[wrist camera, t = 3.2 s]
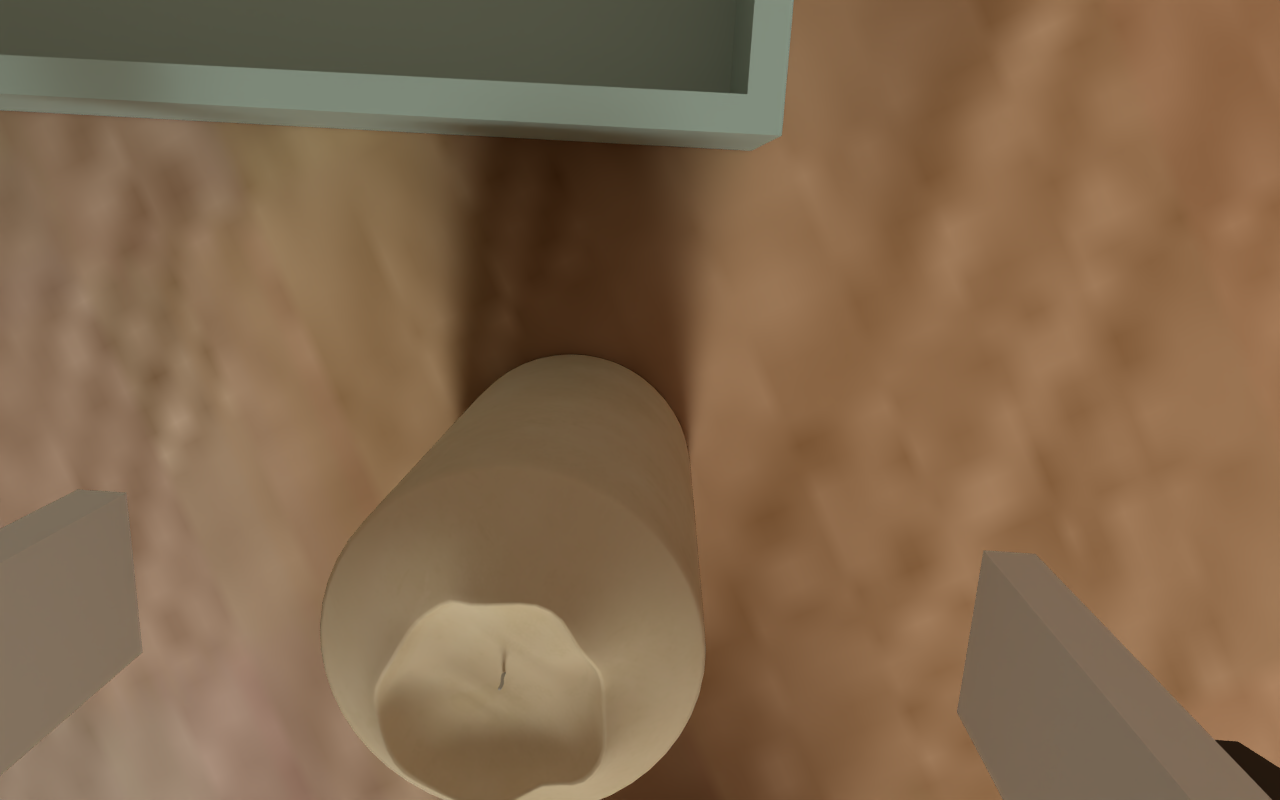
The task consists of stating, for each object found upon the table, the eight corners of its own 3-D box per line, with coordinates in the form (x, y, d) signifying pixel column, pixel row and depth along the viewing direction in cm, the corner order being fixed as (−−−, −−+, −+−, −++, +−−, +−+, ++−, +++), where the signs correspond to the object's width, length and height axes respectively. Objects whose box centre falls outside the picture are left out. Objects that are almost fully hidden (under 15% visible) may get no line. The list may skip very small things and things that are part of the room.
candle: (547, 303, 20) (429, 412, 10) (736, 443, 20) (802, 676, 10) (415, 484, 21) (192, 744, 11) (599, 612, 21) (543, 963, 12)
